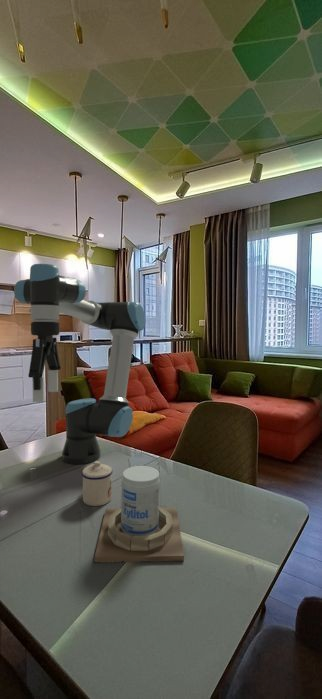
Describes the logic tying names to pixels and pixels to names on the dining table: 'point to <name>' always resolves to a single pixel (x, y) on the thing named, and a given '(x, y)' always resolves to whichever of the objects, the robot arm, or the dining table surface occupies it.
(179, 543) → the ring holder
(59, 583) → the dining table surface
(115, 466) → the dining table surface
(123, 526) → the supplement tub
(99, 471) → the teacup with lid
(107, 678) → the dining table surface
